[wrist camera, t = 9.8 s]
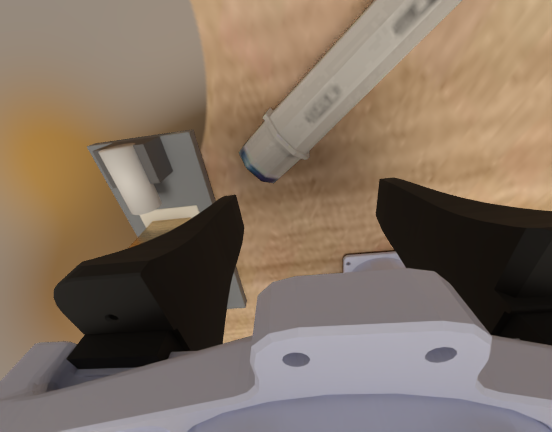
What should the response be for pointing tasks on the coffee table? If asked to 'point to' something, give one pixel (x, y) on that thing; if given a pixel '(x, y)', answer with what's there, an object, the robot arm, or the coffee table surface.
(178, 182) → the coupling bed
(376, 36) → the grey long handheld tool
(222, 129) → the coffee table surface
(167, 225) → the block
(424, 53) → the coffee table surface
